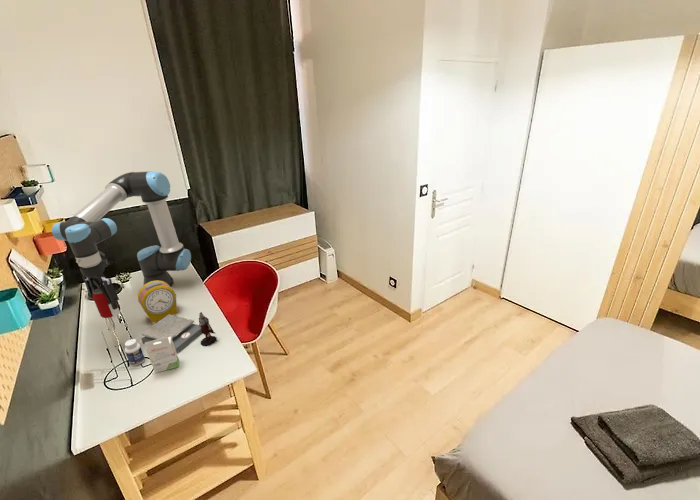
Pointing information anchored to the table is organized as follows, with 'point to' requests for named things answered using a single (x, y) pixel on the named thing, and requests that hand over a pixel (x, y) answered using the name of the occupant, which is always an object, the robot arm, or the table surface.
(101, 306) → the beverage can
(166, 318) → the silver square platform
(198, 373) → the table surface
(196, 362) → the table surface
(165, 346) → the ink box
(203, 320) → the figurine
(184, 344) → the scale
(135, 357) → the pill bottle
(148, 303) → the alarm clock
